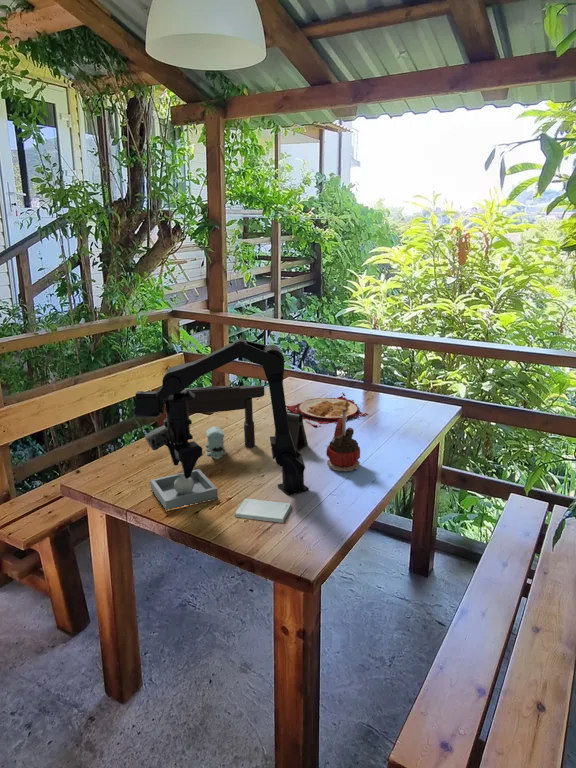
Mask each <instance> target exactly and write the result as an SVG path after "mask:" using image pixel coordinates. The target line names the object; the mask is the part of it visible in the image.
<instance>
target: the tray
mask: <svg viewBox="0 0 576 768" xmlns="http://www.w3.org/2000/svg"><path fill="white" fill-rule="evenodd" d="M178 474H183V475H184V472H183V471H182V472H180V473H179V472H178V473H175V474H171V475H167V476H161V477H158V478H153V479H150V480H149V484H150V490H151V489H152V490H153V492H154V493H155V495H156V496H157V498H158V499H159V501H160V502H161V504H162V505H163V507H164V508H165V509H166V510H168V509H172V508H177V507H181V506H184V505H190V504H195V503H199V504H201V503H200V502H203V501H207V502H209V501H208V500H211V501H214V500H213V499H215V500H218V499H219V497H218V496H219V495H218V493H219V491H218V487H216V485H214V483H213V482H212V481H211V480H210V478H208V477H207V476H206V474H204V473H203V472H202V470H201V469H200V468H196V469H193V471H192V473H191V475H190V477H191V478H192V479H193V481H194V487H193V490H192V491H191V492H190V493H189V494H179V493H178V492H176V490H175V488H174V482H175V480H176V479H177V478H178V477H180V476H178ZM153 492H152V493H153ZM155 495H154V496H155ZM157 498H156V499H157ZM158 499H157V500H158ZM159 501H158V502H159ZM160 502H159V503H160ZM203 503H204V502H203ZM161 504H160V505H161ZM162 505H161V506H162ZM163 507H162V508H163ZM164 508H163V509H164Z"/></svg>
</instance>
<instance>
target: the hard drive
mask: <svg viewBox="0 0 576 768" xmlns="http://www.w3.org/2000/svg"><path fill="white" fill-rule="evenodd" d="M292 508H293V507H292V503H289V502H288V503H287V502H279V501H278V502H277V501H271V500H262V499H253V498H244V500H243V501H242V503H241V504H240V506H239V507H238V508H237V510H236V511H235V512H234V517H235V518H241V519H250V520H258V521H264V522H265V521H266V522H272V523H282V524H283V523H284V522H285V520H286V518H287V516H288V515H289V513H290V511H291V510H292Z"/></svg>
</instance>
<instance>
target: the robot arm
mask: <svg viewBox="0 0 576 768" xmlns="http://www.w3.org/2000/svg"><path fill="white" fill-rule="evenodd" d="M284 357H285V356H284V354H283V350H282V349H281V348H280V347H279V346H278V345H276V344H268V345H265V344H261V343H258V342H253V341H249V340H245V339H244V338H237V339H235V340H234V341H233V342H231V343H229V344H227V345H224V346H223V347H220V348H219V349H217V350H214V351H213V352H211V353H209V354H207V355H205V356H203V357H200V358H199V359H196V360H195V361H191V362H184V363H181V364H178V365H174V366H171V367H170V368H168V369H167V370H166V371H165V374H164V376H163V377H162V382H161V383H162V384H161V385H160V386H159V387H158V389H157V390H154V391H144V390H143V391H142V390H138V391H136V393H135V402H134V416H135V417H136V419H149V418H151V419H152V418H153V419H154V418H160V416H161V414H164V410H165V415H166V416H165V417H166V418H163V419H164V420H163V422H162V423H163V425H162V426H159V427H156V428H155V429H153V430H151V431H149V432H148V433H146V434H145V435H144V438H145V440H146V442H147V445H148V446H149V447H150V448H151V450H152V451H157V450H159V448H160V449H161V448H162V447H163V446H166V447H167V448H168V451H169V454H170V457H171V460H172V463H173V466H174V467H176V466H179V464H181V467H182V473H183V472H184V476H185V478H186V479H187V478H190V475H191V473H192V471H193V470H194V469H195V466H196V464H197V462H198V460H199V458H201V457H202V456H203V447H201V445H200V444H198V443H197V442H196V441H194V440H193V439H194V438H193V436H194V435H192V434H191V430H190V429H191V427H190V425H193V424H192V419H190V417H189V416H190V414H189V411H188V400H194V398H195V394H194V393H192V392H191V391H190V390H189V389H190V388H188V387H190V386H191V385H192V384H194V382H195V381H196V380H198V379H199V378H201V377H202V376H204V375H207V374H209V373H210V372H213V371H215V370H216V369H220V368H221V367H223V366H224V365H227V364H229V363H231V362H234V361H235V360H238V359H239V358H241V359H245V360H247V361H250V362H251V363H253V364H255V365H258V366H262V368H263V372H264V374H265V378H266V381H267V384H268V387H269V388H268V389H269V393H270V394H269V395H270V402H271V407H272V408H271V409H272V415H273V424H274V430H275V431H274V436H272V435H270V436H269V441H270V447H271V448H270V449H271V456H272V460H275V463H276V464H277V465H278V466H279V467H281V469H282V470H281V473H282V474H281V476H282V477H281V478H282V482H281V483H278V484H277V488H279V489H280V490H281V491H283V492H284V493H285V494H286V495H287V496H292V495H295V494H296V495H297V494H299V493H303V492H307V491H309V489H310V488H309V487H308V486H307V485H305V479H304V478H305V470H306V465H305V462H304V457H303V454H302V453H301V452H300V451H297V450H296V449H295V446H294V443H293V440H292V437H291V434H290V431H289V426H288V419H287V407H286V406H287V405H286V398H285V389H284V374H285V358H284ZM186 389H187V391H186V392H181V391H183V390H186ZM171 394H174V395H171ZM169 395H171V396H169ZM164 401H165V404H164ZM189 440H193V441H189Z"/></svg>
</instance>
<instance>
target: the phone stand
mask: <svg viewBox="0 0 576 768" xmlns="http://www.w3.org/2000/svg"><path fill="white" fill-rule="evenodd" d="M286 411H287V410H286ZM287 419H288V426H289V431H290V434H291V437H292V440H293V443H294V446H295V449H296V450H297V451H299V452H300V451H301V450H303V449H305V448H306V447H308V446H309V443H308V439H307V434H306V430H305V426H304V419H303V415H302V414H298V413H293V411H287Z"/></svg>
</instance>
